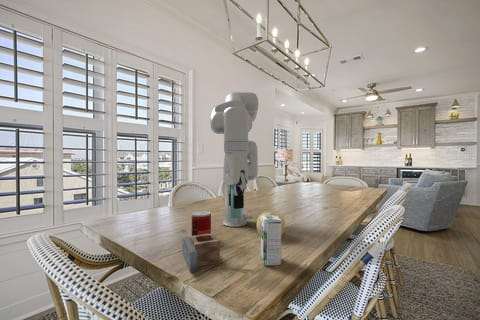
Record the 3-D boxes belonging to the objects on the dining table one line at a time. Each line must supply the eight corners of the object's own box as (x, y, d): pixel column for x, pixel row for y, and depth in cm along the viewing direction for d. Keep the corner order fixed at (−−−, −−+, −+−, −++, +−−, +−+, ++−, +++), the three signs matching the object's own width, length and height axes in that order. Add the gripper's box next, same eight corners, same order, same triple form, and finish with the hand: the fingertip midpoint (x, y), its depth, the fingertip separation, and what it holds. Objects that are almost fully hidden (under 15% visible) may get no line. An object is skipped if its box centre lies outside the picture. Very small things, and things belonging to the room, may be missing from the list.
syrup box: (260, 258, 78) (260, 215, 78) (277, 257, 78) (277, 214, 78) (263, 266, 72) (263, 219, 72) (282, 265, 73) (282, 219, 72)
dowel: (238, 215, 74) (238, 180, 74) (242, 217, 71) (242, 182, 71) (229, 216, 73) (229, 181, 73) (233, 218, 70) (233, 182, 70)
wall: (188, 253, 82) (188, 236, 82) (196, 271, 69) (196, 251, 69) (182, 254, 81) (182, 237, 81) (190, 272, 68) (190, 252, 68)
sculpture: (260, 242, 92) (260, 215, 92) (254, 232, 104) (254, 208, 104) (287, 240, 94) (287, 214, 94) (278, 231, 106) (278, 208, 106)
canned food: (213, 237, 98) (213, 211, 98) (205, 243, 91) (205, 216, 91) (198, 235, 101) (197, 210, 101) (188, 241, 93) (188, 214, 93)
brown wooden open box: (212, 252, 82) (212, 233, 82) (219, 262, 75) (219, 240, 75) (190, 256, 79) (189, 236, 79) (194, 266, 72) (194, 244, 72)
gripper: (216, 148, 78) (216, 202, 78) (234, 147, 63) (234, 214, 63) (237, 148, 81) (237, 201, 81) (259, 147, 66) (259, 211, 66)
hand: (236, 206), depth 72 cm, fingers closed on dowel, 3 cm apart
